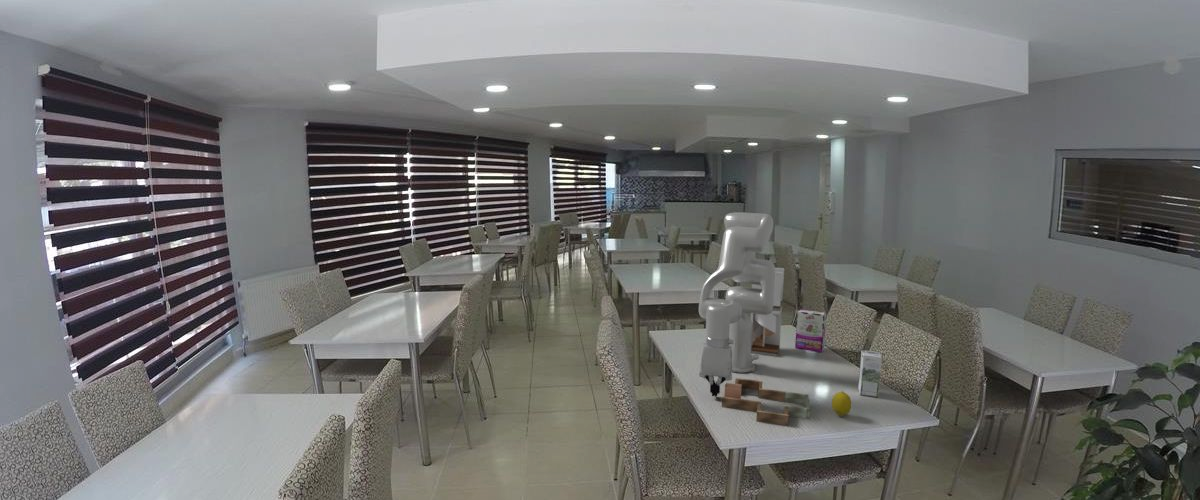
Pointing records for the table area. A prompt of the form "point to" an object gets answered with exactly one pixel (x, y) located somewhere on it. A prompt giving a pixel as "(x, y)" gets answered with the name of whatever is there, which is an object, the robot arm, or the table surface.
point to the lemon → (841, 403)
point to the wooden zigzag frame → (752, 389)
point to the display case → (768, 322)
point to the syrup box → (869, 373)
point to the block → (733, 390)
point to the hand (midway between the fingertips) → (714, 394)
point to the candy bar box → (810, 330)
